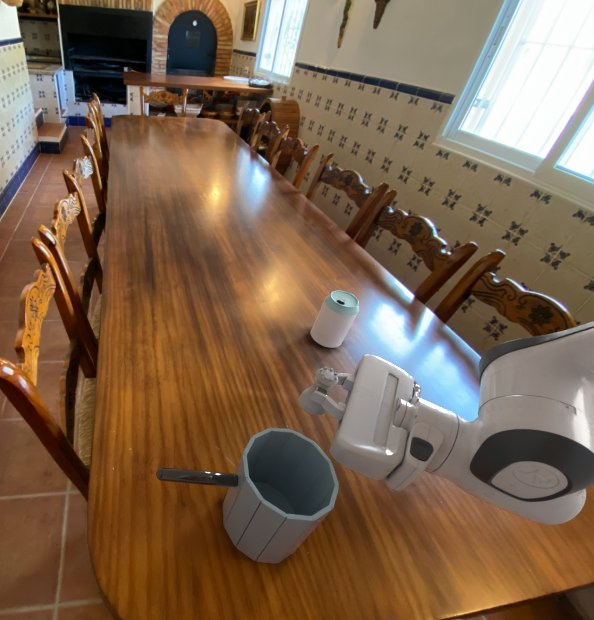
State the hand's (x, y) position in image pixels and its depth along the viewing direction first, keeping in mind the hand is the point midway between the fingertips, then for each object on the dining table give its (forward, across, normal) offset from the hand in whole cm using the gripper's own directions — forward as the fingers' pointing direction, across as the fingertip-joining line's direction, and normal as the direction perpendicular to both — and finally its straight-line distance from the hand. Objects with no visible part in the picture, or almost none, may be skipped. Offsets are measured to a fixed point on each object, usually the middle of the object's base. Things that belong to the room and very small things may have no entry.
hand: (316, 383), depth 55 cm
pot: (+4, +19, +14) cm, 24 cm away
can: (+1, -28, +14) cm, 32 cm away
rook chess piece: (-1, 0, +5) cm, 5 cm away
